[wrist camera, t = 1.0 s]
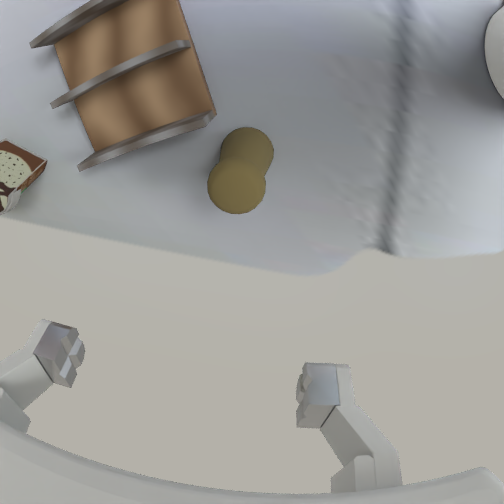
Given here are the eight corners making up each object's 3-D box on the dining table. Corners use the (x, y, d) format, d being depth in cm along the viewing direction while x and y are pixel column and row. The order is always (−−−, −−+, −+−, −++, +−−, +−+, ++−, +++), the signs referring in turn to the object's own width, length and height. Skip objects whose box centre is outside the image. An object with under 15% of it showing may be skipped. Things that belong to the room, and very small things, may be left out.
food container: (-3, 168, 39) (-43, 198, 31) (0, 135, 36) (-44, 162, 28) (49, 197, 42) (10, 234, 34) (54, 163, 38) (11, 197, 30)
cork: (235, 183, 38) (219, 233, 30) (211, 140, 35) (185, 178, 27) (282, 164, 37) (281, 210, 28) (259, 118, 33) (250, 149, 25)
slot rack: (171, -22, 24) (151, -32, 19) (216, 114, 34) (205, 126, 29) (58, 38, 28) (29, 43, 23) (102, 154, 37) (79, 171, 33)
